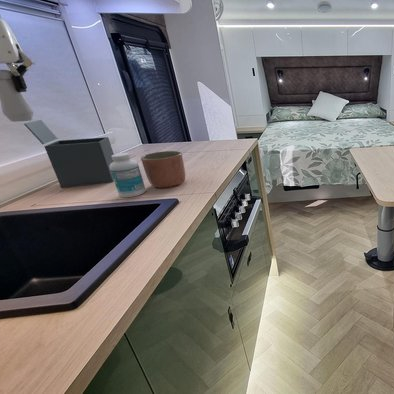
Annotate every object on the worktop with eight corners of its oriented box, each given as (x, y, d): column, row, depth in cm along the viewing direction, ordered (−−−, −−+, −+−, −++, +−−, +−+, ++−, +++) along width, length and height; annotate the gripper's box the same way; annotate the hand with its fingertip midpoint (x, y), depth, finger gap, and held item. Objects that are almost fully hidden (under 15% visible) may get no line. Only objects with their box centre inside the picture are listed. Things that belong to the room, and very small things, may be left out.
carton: (61, 188, 103) (44, 146, 97) (73, 179, 112) (58, 140, 106) (112, 181, 109) (99, 142, 103) (120, 174, 118) (108, 137, 112)
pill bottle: (123, 191, 99) (110, 152, 94) (148, 188, 101) (137, 150, 96) (115, 199, 92) (101, 158, 87) (142, 196, 95) (130, 156, 90)
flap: (43, 144, 97) (42, 144, 97) (57, 138, 106) (56, 139, 106) (24, 123, 93) (23, 123, 93) (41, 119, 103) (39, 120, 102)
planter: (175, 177, 114) (168, 149, 109) (195, 181, 108) (189, 153, 104) (141, 186, 103) (132, 156, 99) (162, 192, 98) (153, 161, 94)
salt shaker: (38, 118, 84) (19, 70, 80) (35, 120, 80) (14, 69, 75) (9, 120, 81) (-13, 69, 76) (4, 122, 77) (-20, 69, 72)
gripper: (-87, 6, 65) (-46, 93, 71) (14, 12, 71) (44, 92, 78) (-61, 12, 71) (-25, 91, 78) (30, 18, 77) (56, 91, 84)
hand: (9, 91), depth 78 cm, fingers closed on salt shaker, 4 cm apart
